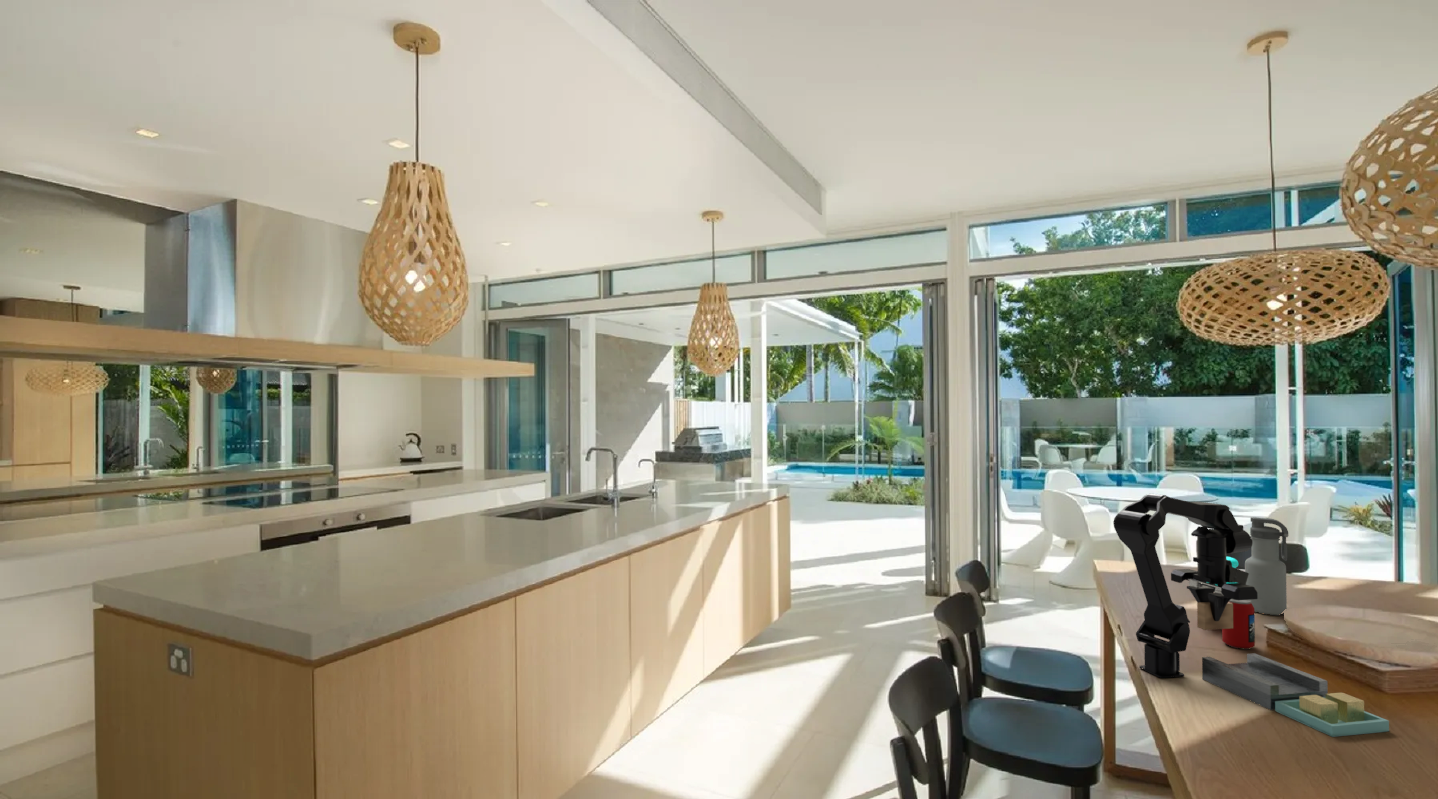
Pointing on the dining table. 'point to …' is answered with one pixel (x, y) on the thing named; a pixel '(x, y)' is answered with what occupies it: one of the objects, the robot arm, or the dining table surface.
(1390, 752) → the dining table surface
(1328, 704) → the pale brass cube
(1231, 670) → the slot block
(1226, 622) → the wooden block
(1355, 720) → the yellow cube
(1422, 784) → the dining table surface
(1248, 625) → the beverage can
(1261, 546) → the water bottle
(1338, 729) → the tray
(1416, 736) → the dining table surface
